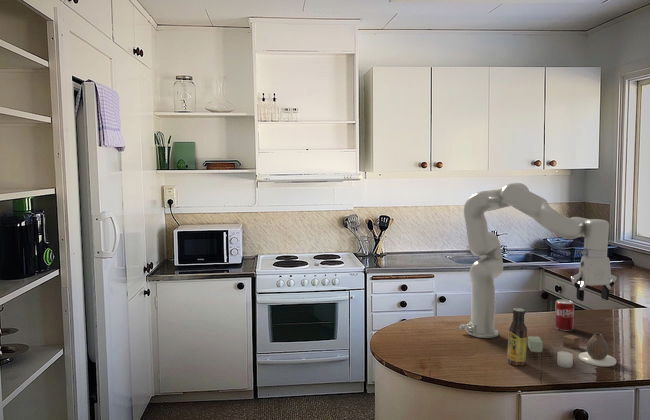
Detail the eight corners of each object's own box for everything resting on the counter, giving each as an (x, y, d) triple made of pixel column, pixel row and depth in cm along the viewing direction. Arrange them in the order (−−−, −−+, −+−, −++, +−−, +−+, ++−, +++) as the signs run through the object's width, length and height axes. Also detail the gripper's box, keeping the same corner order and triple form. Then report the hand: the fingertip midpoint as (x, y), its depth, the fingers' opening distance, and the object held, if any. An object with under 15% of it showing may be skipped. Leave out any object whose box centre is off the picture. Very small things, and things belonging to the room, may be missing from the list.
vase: (605, 355, 186) (606, 332, 185) (609, 362, 179) (610, 338, 178) (584, 353, 188) (585, 330, 187) (588, 360, 181) (588, 336, 181)
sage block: (531, 351, 193) (531, 341, 192) (527, 346, 199) (528, 336, 198) (542, 352, 192) (542, 342, 192) (538, 346, 198) (539, 336, 197)
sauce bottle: (504, 360, 184) (505, 306, 183) (520, 359, 185) (522, 306, 183) (512, 367, 178) (513, 311, 176) (529, 366, 178) (531, 311, 177)
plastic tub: (562, 368, 177) (562, 357, 177) (554, 362, 182) (554, 351, 181) (575, 367, 178) (576, 356, 177) (566, 361, 183) (567, 350, 182)
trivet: (592, 367, 177) (593, 365, 177) (571, 354, 189) (571, 352, 189) (624, 365, 178) (624, 363, 178) (601, 352, 190) (601, 350, 190)
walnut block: (572, 349, 195) (572, 339, 194) (563, 346, 198) (563, 336, 198) (578, 347, 196) (579, 337, 196) (569, 344, 200) (570, 334, 200)
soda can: (575, 332, 214) (576, 304, 213) (556, 331, 215) (557, 303, 214) (570, 326, 221) (571, 299, 220) (552, 325, 223) (553, 298, 221)
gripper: (579, 255, 178) (576, 303, 180) (624, 255, 181) (621, 301, 182) (566, 251, 186) (564, 297, 188) (610, 251, 188) (607, 296, 190)
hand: (592, 299), depth 185 cm, fingers open, 9 cm apart
